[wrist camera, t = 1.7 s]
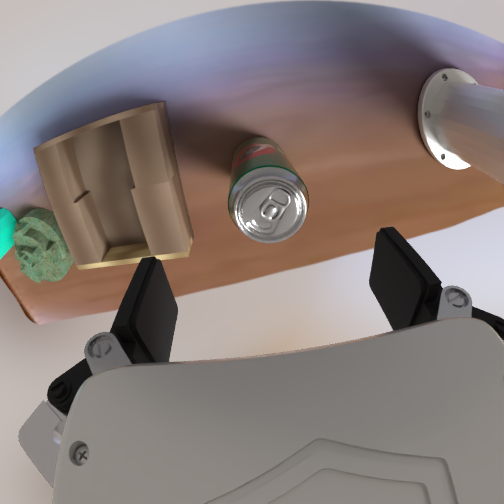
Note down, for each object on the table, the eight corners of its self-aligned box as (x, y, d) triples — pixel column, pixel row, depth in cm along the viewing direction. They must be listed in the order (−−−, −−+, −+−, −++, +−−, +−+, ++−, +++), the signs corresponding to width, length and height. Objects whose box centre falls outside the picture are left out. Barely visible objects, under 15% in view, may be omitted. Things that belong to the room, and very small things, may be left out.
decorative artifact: (51, 195, 26) (14, 223, 28) (19, 222, 21) (-14, 249, 22) (89, 260, 32) (48, 276, 33) (66, 294, 26) (26, 307, 27)
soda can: (223, 170, 26) (212, 227, 16) (248, 126, 24) (254, 154, 14) (267, 193, 28) (283, 260, 18) (293, 152, 26) (329, 197, 16)
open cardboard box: (165, 101, 22) (152, 103, 19) (193, 236, 30) (188, 256, 27) (54, 139, 23) (33, 148, 19) (91, 251, 31) (78, 269, 27)
